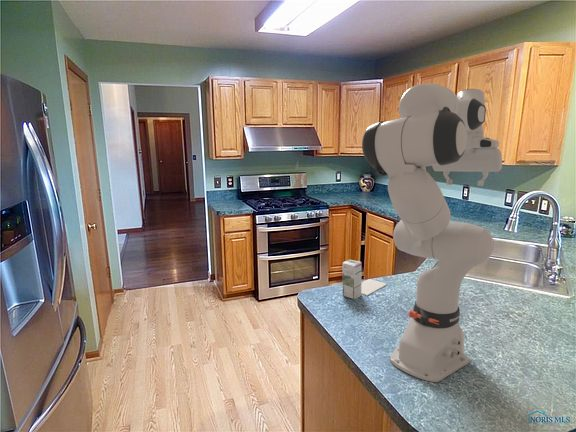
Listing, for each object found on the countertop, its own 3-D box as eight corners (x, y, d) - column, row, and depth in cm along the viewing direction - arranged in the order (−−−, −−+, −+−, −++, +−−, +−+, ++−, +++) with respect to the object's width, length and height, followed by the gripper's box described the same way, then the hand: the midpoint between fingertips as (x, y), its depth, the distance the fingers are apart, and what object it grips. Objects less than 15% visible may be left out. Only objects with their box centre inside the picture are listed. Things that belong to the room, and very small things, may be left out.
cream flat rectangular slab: (367, 295, 138) (367, 294, 138) (349, 289, 145) (349, 288, 145) (387, 284, 148) (387, 283, 148) (369, 279, 155) (369, 278, 155)
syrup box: (362, 295, 139) (362, 261, 136) (354, 300, 135) (354, 265, 132) (350, 291, 143) (349, 258, 140) (342, 296, 139) (341, 262, 136)
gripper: (430, 144, 115) (429, 185, 118) (501, 141, 102) (497, 187, 105) (436, 143, 120) (434, 183, 123) (505, 141, 107) (501, 185, 110)
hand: (464, 185), depth 114 cm, fingers open, 8 cm apart
